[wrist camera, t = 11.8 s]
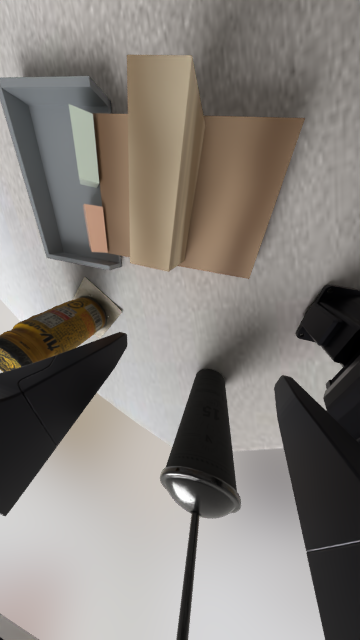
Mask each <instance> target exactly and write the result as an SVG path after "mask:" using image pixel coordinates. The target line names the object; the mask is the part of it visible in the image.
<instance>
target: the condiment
mask: <svg viewBox="0 0 360 640" xmlns="http://www.w3.org/2000/svg"><path fill="white" fill-rule="evenodd" d="M89 295H90V296H89ZM91 295H93V296H91ZM121 313H122V311H121V310H120V309H119V308H118V307H117V306H116V305H115V304H114V303H113V302H112V301H111V300H110V299H109V298H108V297H107V296H106V295H105V294H103V293H102V291H100V290H99V289H98V288H97V287H96V286H95V285H94V284H93V283H91V282H90V281H89V280H88V279H87V278H86V277H84V279H83V280H82V283H81V284H80V286H79V288H78V290H77V292H76V294H75V297H74V298H73V300H71V301H68V302H66V303H63V304H61V305H59V306H55V307H53V308H52V309H49V310H47V311H45V312H43V313H40V314H38V315H34V316H32V317H30V318H29V319H27V320H24V321H21V322H19V323H18V324H16V325H15V326H14V327H13V329H12V330H11V331H7V332H4V333H3V334H1V335H0V370H1V371H3V372H6V371H10V370H13V369H16V368H19V367H23V366H26V365H29V364H32V363H35V362H38V361H41V360H44V359H47V358H49V357H52V356H55V355H56V356H57V355H58V354H60V353H63V352H66V351H69V350H72V349H74V348H76V347H78V346H79V345H80V344H82V343H83V342H84V341H86V340H87V339H88V338H90V337H91V336H92V335H94V334H95V335H96V336H97V337H98V338H101V337H102V336H103V335H104V333H105V332H106V331H107V330H108V329H109V328H110V326H111V325H112V324H113V323H114V321H115V320H116V319H117V318H118V317H119V315H120V314H121ZM108 316H109V317H108Z"/></svg>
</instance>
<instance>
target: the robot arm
mask: <svg viewBox="0 0 360 640" xmlns="http://www.w3.org/2000/svg"><path fill="white" fill-rule="evenodd" d="M330 288H331V291H329V292H327V291H328V289H330ZM302 333H303V334H302ZM300 334H302V335H300ZM296 336H297V337H298V338H299V339H303V340H308V341H312V342H316V343H317V344H318V345H319V346H321V347H322V348H323V349H324V350H325V351H326V353H327V354H328V355H329V356H330V357H331V359H332V360H333V361H334V362H337V363H340V364H341V365H342V367H343V368H342V369H341V370H340V371H339V372H338V374H337V375H336V376H335V377H334V378H333V379H332V380H329V381H328V382H327V383H326V388H327V390H326V391H325V394H324V402H325V405H326V409H327V411H326V410H325V409H324V408H323V407H321V406H320V405H319V404H318V403H317V402H316V401H315V400H314V399H313V398H312V397H311V396H310V395H309V394H308V393H307V392H306V391H305V390H304V389H303V388H302V387H301V386H300V385H299V384H298V383H297V382H296V381H295V380H294V379H293V378H291V377H288V376H284V375H282V376H281V377H280V378H279V380H278V381H277V383H276V384H275V388H274V390H275V400H276V409H277V418H278V423H279V428H280V432H281V437H282V441H283V446H284V450H285V455H286V460H287V465H288V469H289V474H290V478H291V483H292V487H293V492H294V497H295V501H296V505H297V511H298V515H299V520H300V524H301V529H302V534H303V538H304V543H305V548H306V551H307V558H308V562H309V567H310V571H311V576H312V581H313V585H314V590H315V595H316V599H317V603H318V608H319V613H320V617H321V622H322V626H323V631H324V636H325V640H360V290H358V289H352V288H346V287H341V286H335V285H327V286H325V287H324V288H323V289H322V291H321V293H320V294H319V296H318V297H317V299H316V301H315V302H314V303H313V304H312V305H311V307H310V308H309V310H308V311H307V313H306V315H305V316H304V318H303V320H302V321H301V325H300V327H299V329H298V330H297V332H296ZM126 347H127V334H126V333H122V332H118V333H116V334H113V335H110V336H107V337H105V338H102V339H99V340H96V341H94V342H91V343H88V344H85V345H83V346H80V347H77V348H74V349H72V350H69V351H66V352H63V353H60V354H58V355H57V356H56V355H55V356H52V357H49V358H47V359H44V360H41V361H38V362H35V363H32V364H29V365H26V366H23V367H19V368H16V369H13V370H10V371H6V372H3V373H0V514H1V515H3V516H6V515H7V514H8V512H9V511H10V510H11V509H12V507H13V506H14V505H15V503H16V502H17V501H18V499H19V497H20V496H21V495H22V494H23V492H24V491H25V490H26V488H27V487H28V486H29V484H30V483H31V481H32V480H33V479H34V477H35V476H36V474H37V473H38V472H39V471H40V469H41V468H42V466H43V465H44V463H45V462H46V461H47V460H48V458H49V457H50V456H51V454H52V453H53V451H54V450H55V449H56V447H57V446H58V444H59V443H60V442H61V440H62V439H63V438H64V436H65V435H66V434H67V432H68V431H69V429H70V428H71V427H72V425H73V424H74V423H75V421H76V420H77V419H78V417H79V416H80V414H81V413H82V412H83V410H84V409H85V408H86V406H87V405H88V404H89V402H90V401H91V399H92V398H93V397H94V395H95V394H96V393H97V391H98V390H99V389H100V387H101V386H102V384H103V383H104V382H105V380H106V379H107V378H108V376H109V375H110V374H111V372H112V371H113V369H114V368H115V366H116V365H117V363H118V361H119V360H120V358H121V356H122V354H123V353H124V351H125V349H126ZM0 640H39V639H37V638H36V637H34V636H33V635H31V634H30V633H28V632H27V631H25V630H24V629H22V628H21V627H19V626H17V625H16V624H15V623H13V622H12V621H10V620H9V619H7V618H6V617H4V616H3V615H1V614H0Z"/></svg>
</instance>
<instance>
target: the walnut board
mask: <svg viewBox="0 0 360 640" xmlns="http://www.w3.org/2000/svg"><path fill="white" fill-rule="evenodd" d="M92 114H93V121H94V132H95V143H96V153H97V163H98V172H99V181H100V190H101V200H102V207H103V214H104V223H105V232H106V242H107V251H108V253H109V254H115V255H120V256H126V257H130V218H129V153H128V114H105V113H92ZM304 120H305V118H280V117H236V116H204V121H205V131H204V138H203V144H202V151H201V157H200V163H199V170H198V176H197V183H196V189H195V196H194V202H193V209H192V215H191V221H190V228H189V234H188V241H187V247H186V254H185V260H184V262H182V263H181V264H179V265H178V266H181V267H187V268H192V269H198V270H203V271H209V272H214V273H220V274H225V275H231V276H236V277H242V278H247V279H249V277H250V275H251V272H252V269H253V266H254V263H255V260H256V257H257V255H258V252H259V249H260V246H261V243H262V240H263V237H264V234H265V232H266V229H267V226H268V223H269V220H270V217H271V214H272V211H273V209H274V206H275V203H276V200H277V197H278V194H279V191H280V189H281V186H282V183H283V180H284V177H285V174H286V171H287V168H288V166H289V163H290V160H291V157H292V154H293V151H294V148H295V145H296V143H297V140H298V137H299V134H300V131H301V128H302V125H303V123H304Z"/></svg>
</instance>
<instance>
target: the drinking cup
mask: <svg viewBox="0 0 360 640" xmlns="http://www.w3.org/2000/svg"><path fill="white" fill-rule="evenodd" d="M160 481H161V483H162V485H163V486H164V487H165V489H167V491H168V492H169V494H170V495H171V497H172V498H173V499H174V501H175V502H176V503H177V504H178V505H180V506H181V507H182V508H184V509H185V510H186V511H188V512H190V513H191V514H192V517H191V524H190V533H189V541H188V549H187V557H186V566H185V574H184V582H183V590H182V599H181V608H180V615H179V623H178V632H177V640H188V633H189V623H190V612H191V602H192V591H193V580H194V569H195V559H196V547H197V536H198V526H199V517H203V518H220V517H223V516H225V515H228V514H229V513H235V512H237V511H239V510H240V508H241V499H240V496H239V494H238V493H237V489H236V481H235V471H234V462H233V453H232V443H231V434H230V425H229V416H228V407H227V398H226V389H225V380H224V378H223V376H222V375H221V374H220V373H219V372H217V371H214V370H210V369H205V370H201V371H199V372H198V373H197V374H196V377H195V380H194V383H193V386H192V389H191V392H190V395H189V398H188V401H187V404H186V407H185V410H184V414H183V417H182V420H181V423H180V426H179V429H178V432H177V435H176V438H175V441H174V444H173V447H172V450H171V453H170V456H169V459H168V462H167V465H166V468H164V469H163V471H162V472H161V476H160Z"/></svg>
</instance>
